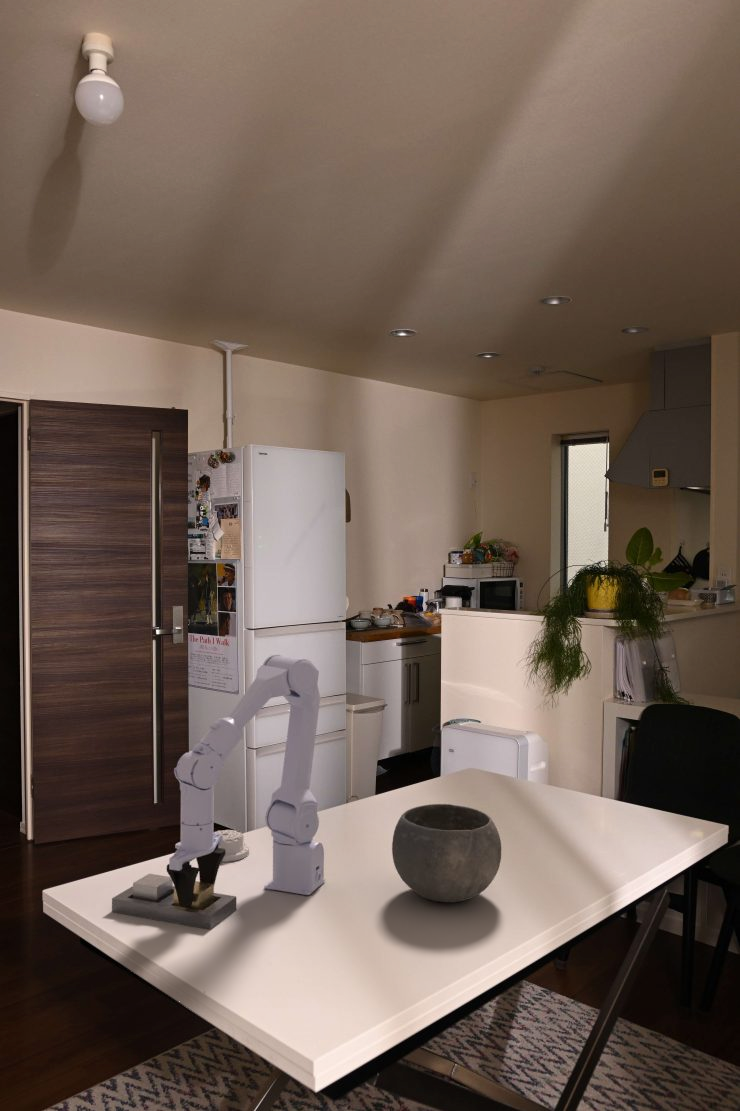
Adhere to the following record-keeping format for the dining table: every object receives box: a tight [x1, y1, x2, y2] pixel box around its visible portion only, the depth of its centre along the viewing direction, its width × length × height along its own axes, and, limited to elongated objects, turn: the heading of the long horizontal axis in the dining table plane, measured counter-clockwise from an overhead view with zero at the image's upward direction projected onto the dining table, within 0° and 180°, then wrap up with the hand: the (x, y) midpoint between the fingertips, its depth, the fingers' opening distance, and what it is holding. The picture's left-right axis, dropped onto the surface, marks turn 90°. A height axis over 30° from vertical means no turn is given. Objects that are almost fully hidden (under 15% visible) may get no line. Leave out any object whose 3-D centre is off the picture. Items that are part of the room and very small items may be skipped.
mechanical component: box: [213, 829, 250, 863], centre depth 191 cm, size 10×4×10 cm
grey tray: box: [111, 885, 237, 930], centre depth 161 cm, size 20×9×2 cm, turn 70°
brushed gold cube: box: [174, 880, 215, 911], centre depth 160 cm, size 5×5×5 cm
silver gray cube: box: [132, 873, 174, 903], centre depth 163 cm, size 5×5×5 cm
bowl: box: [391, 803, 502, 903], centre depth 169 cm, size 20×20×15 cm
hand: (196, 897), depth 159 cm, fingers open, 7 cm apart
